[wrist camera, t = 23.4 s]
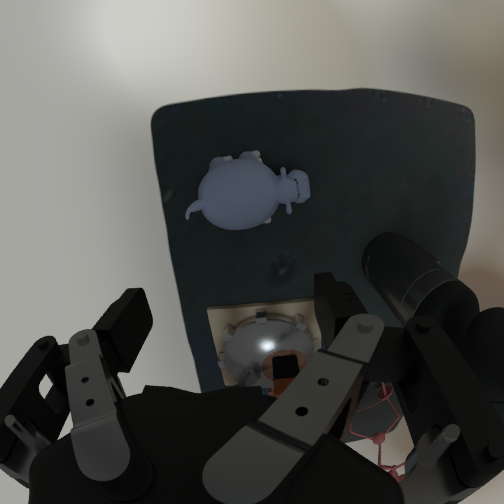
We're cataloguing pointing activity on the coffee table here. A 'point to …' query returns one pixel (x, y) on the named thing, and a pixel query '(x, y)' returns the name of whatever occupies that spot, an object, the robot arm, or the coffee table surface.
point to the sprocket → (264, 347)
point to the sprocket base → (241, 312)
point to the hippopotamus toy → (246, 191)
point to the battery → (284, 372)
